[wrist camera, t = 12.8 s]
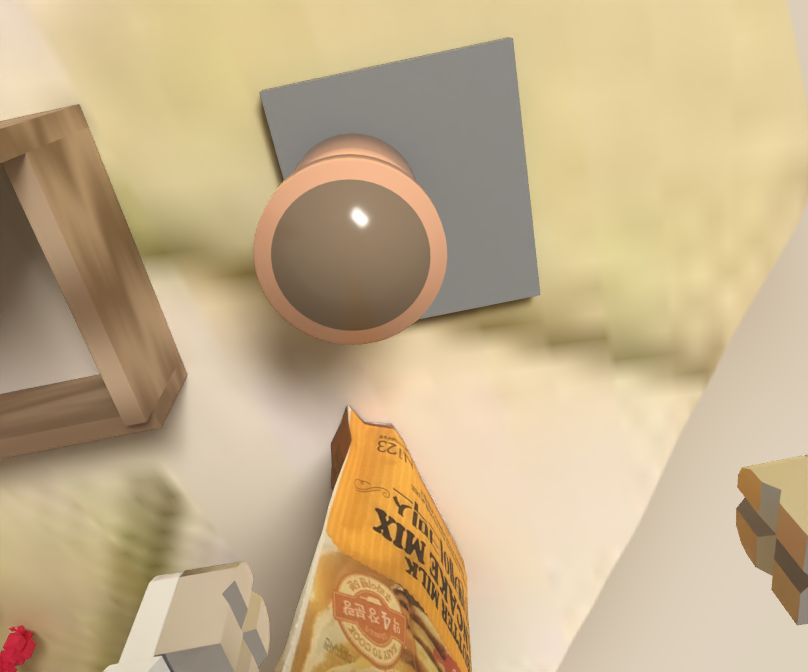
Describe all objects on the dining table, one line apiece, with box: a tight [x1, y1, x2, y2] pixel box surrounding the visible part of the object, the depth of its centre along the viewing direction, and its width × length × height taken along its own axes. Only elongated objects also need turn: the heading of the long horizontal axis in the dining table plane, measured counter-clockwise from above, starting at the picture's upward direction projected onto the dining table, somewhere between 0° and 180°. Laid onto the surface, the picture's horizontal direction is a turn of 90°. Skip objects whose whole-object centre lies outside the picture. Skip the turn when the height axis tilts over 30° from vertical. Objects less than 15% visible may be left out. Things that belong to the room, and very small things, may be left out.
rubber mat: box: [259, 37, 540, 319], centre depth 31 cm, size 12×11×1 cm
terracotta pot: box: [254, 133, 447, 345], centre depth 26 cm, size 7×7×8 cm
